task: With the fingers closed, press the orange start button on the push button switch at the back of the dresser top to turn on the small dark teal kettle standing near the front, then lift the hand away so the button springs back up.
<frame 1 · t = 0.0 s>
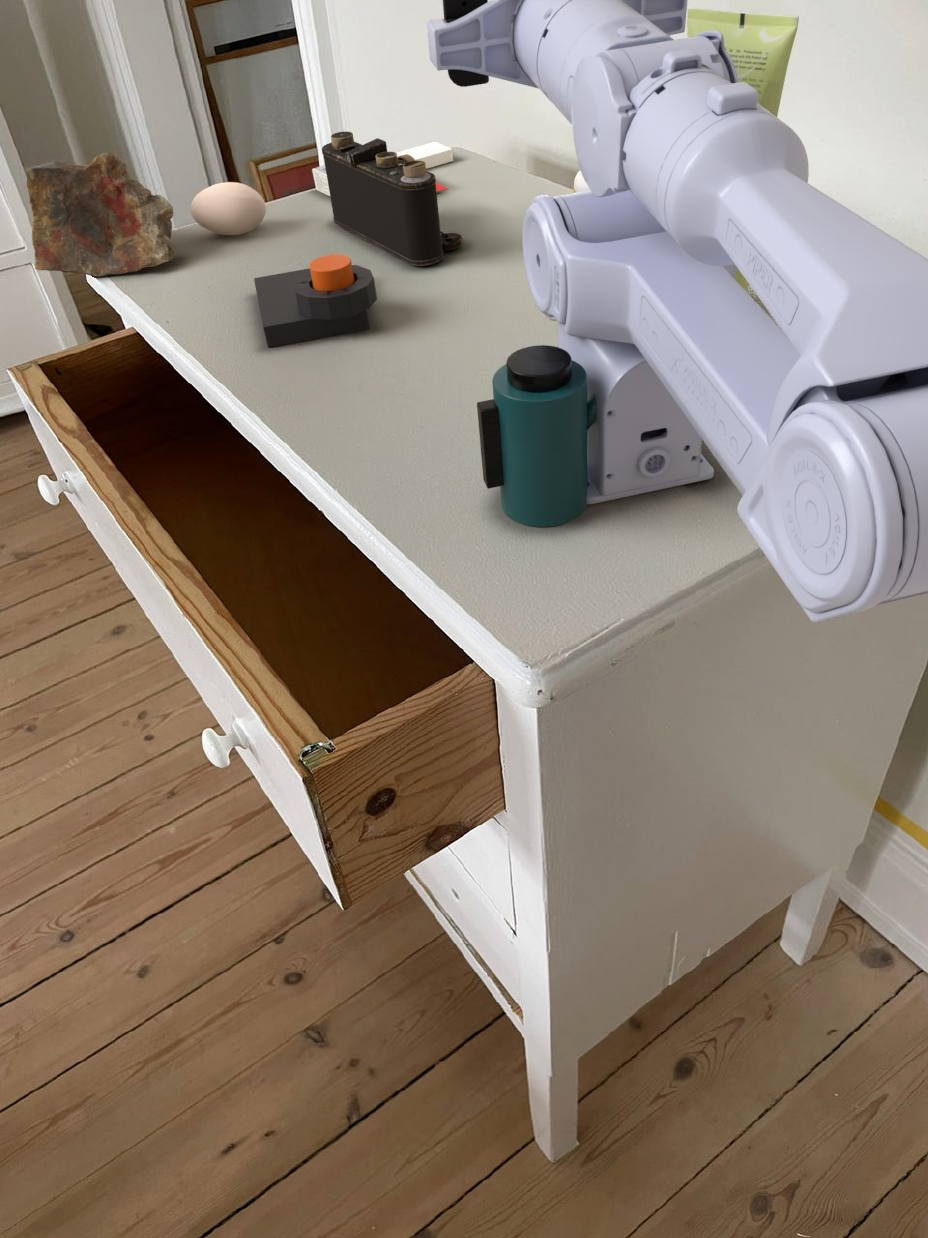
egg: (266, 206, 92), point 2 cm above the table
eraser: (432, 158, 108), on the table
switch button: (332, 273, 74), point 4 cm above the table, slide at 0.1 cm
camera: (397, 237, 90), on the table
tube: (713, 314, 73), on the table
ink cartridge box: (336, 192, 97), point 1 cm above the table
pill bottle: (613, 286, 78), on the table
push button switch: (311, 312, 79), on the table
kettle: (544, 501, 57), on the table
rock: (144, 248, 94), on the table
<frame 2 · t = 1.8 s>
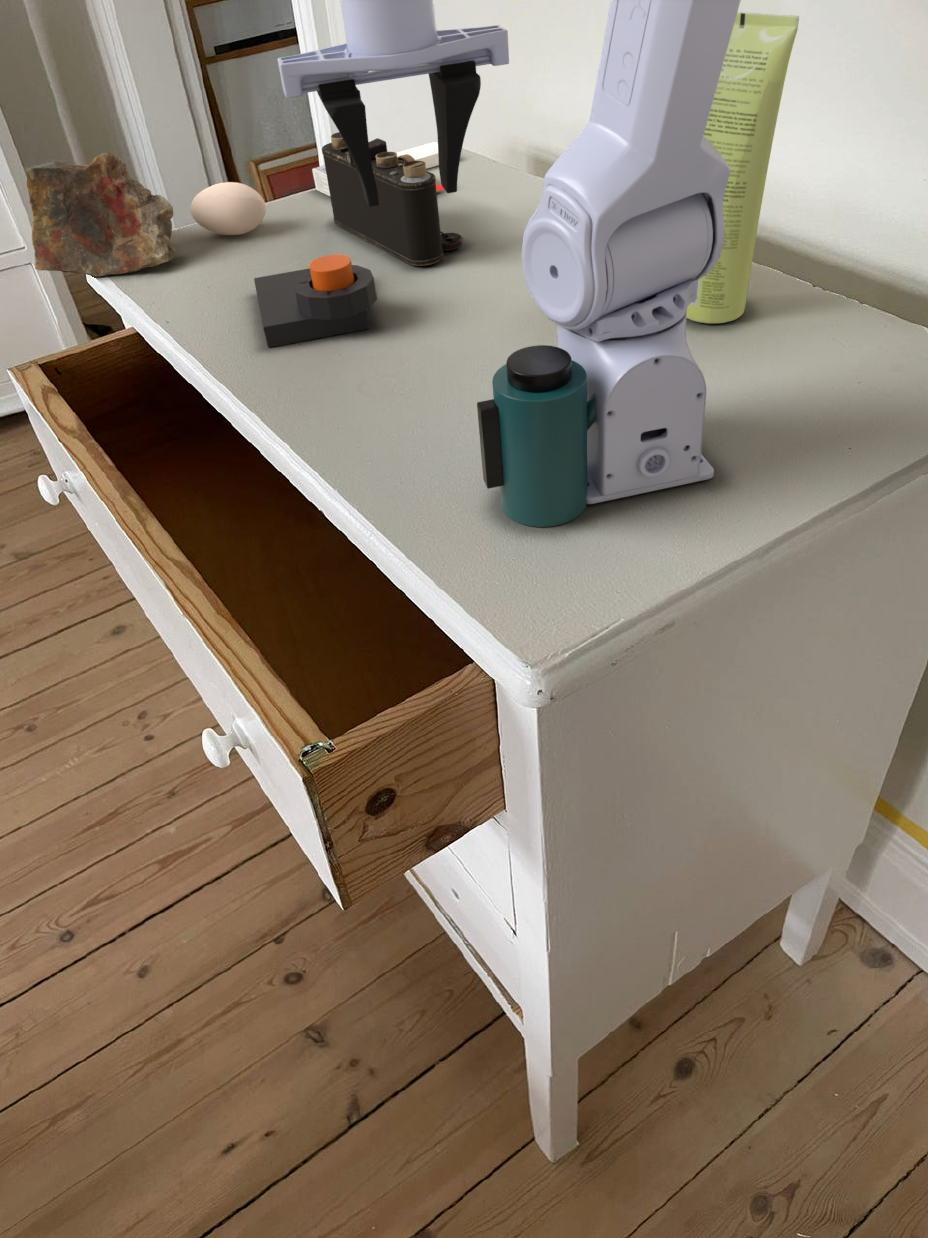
hand: (410, 194, 67), 10 cm above the table, tool pointing down, fingers open, 5 cm apart
nothing on the table moved.
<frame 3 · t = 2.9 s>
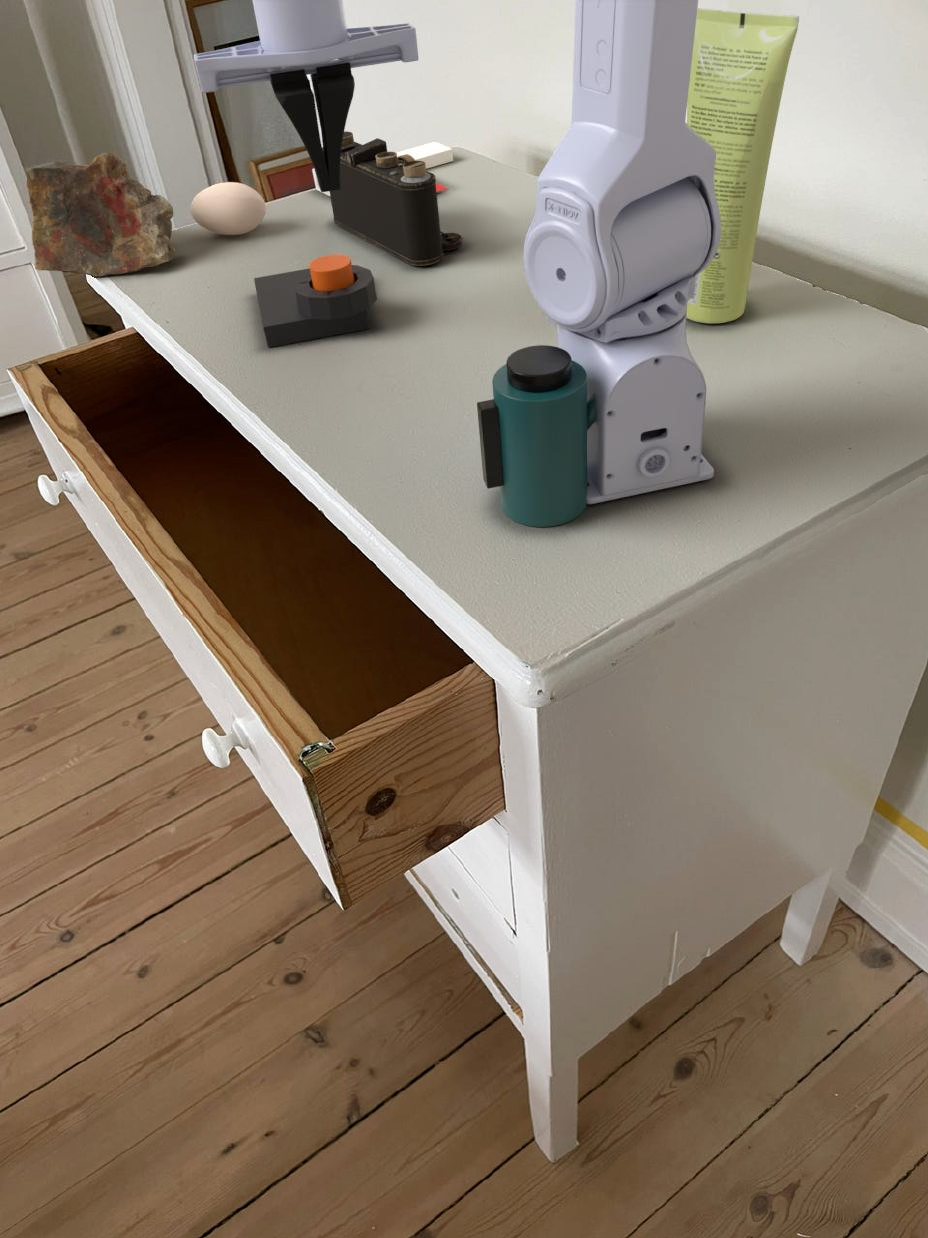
hand: (329, 186, 70), 10 cm above the table, tool pointing down, fingers closed
nothing on the table moved.
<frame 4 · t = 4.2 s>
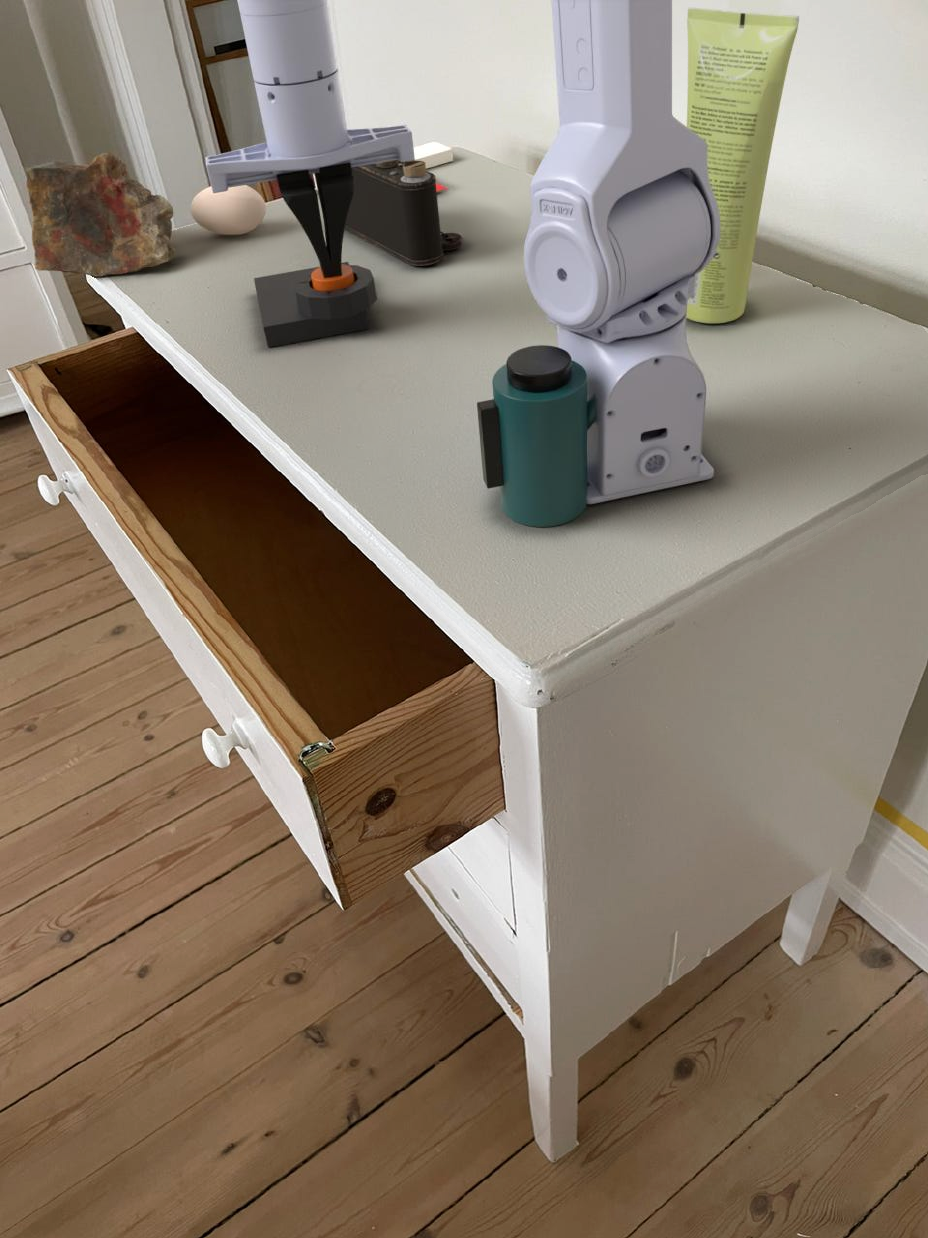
hand: (331, 272, 74), 4 cm above the table, tool pointing down, fingers closed, pressing on switch button
switch button: (333, 282, 75), point 3 cm above the table, slide at -0.6 cm, touching gripper
everything else where it was.
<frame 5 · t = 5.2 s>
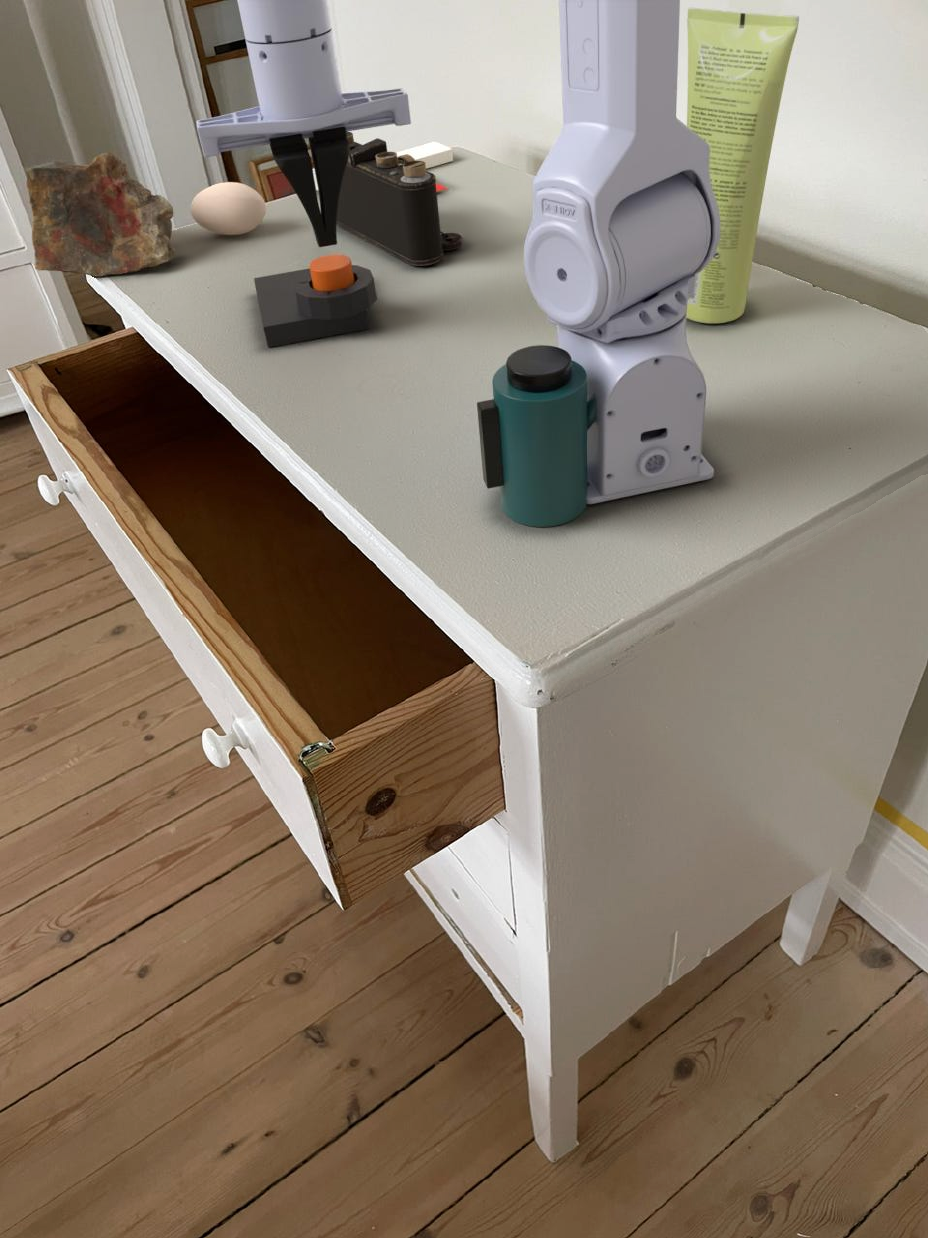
hand: (326, 241, 73), 6 cm above the table, tool pointing down, fingers closed
switch button: (332, 273, 74), point 4 cm above the table, slide at 0.1 cm
everything else where it was.
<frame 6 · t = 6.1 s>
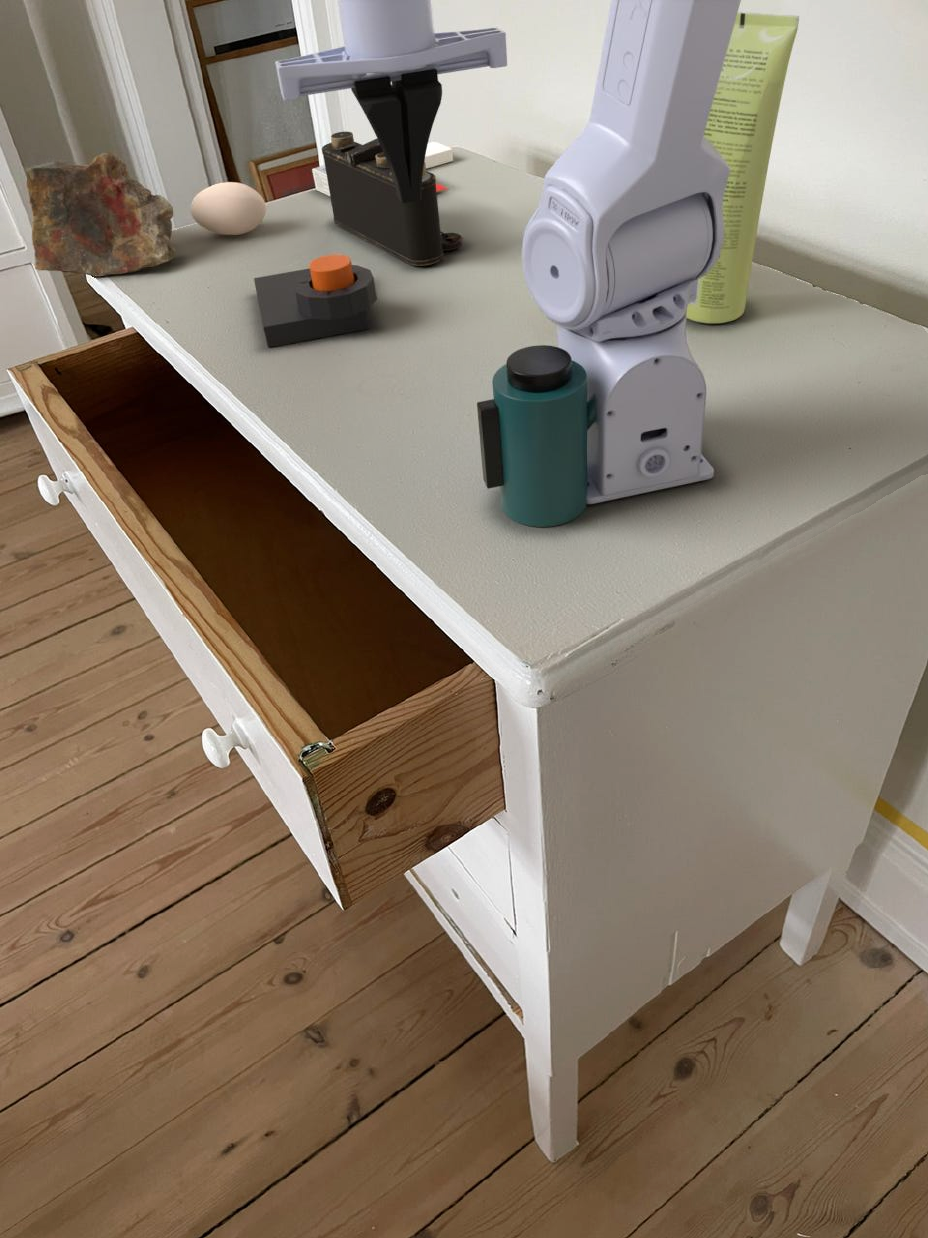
hand: (409, 197, 67), 10 cm above the table, tool pointing down, fingers closed
nothing on the table moved.
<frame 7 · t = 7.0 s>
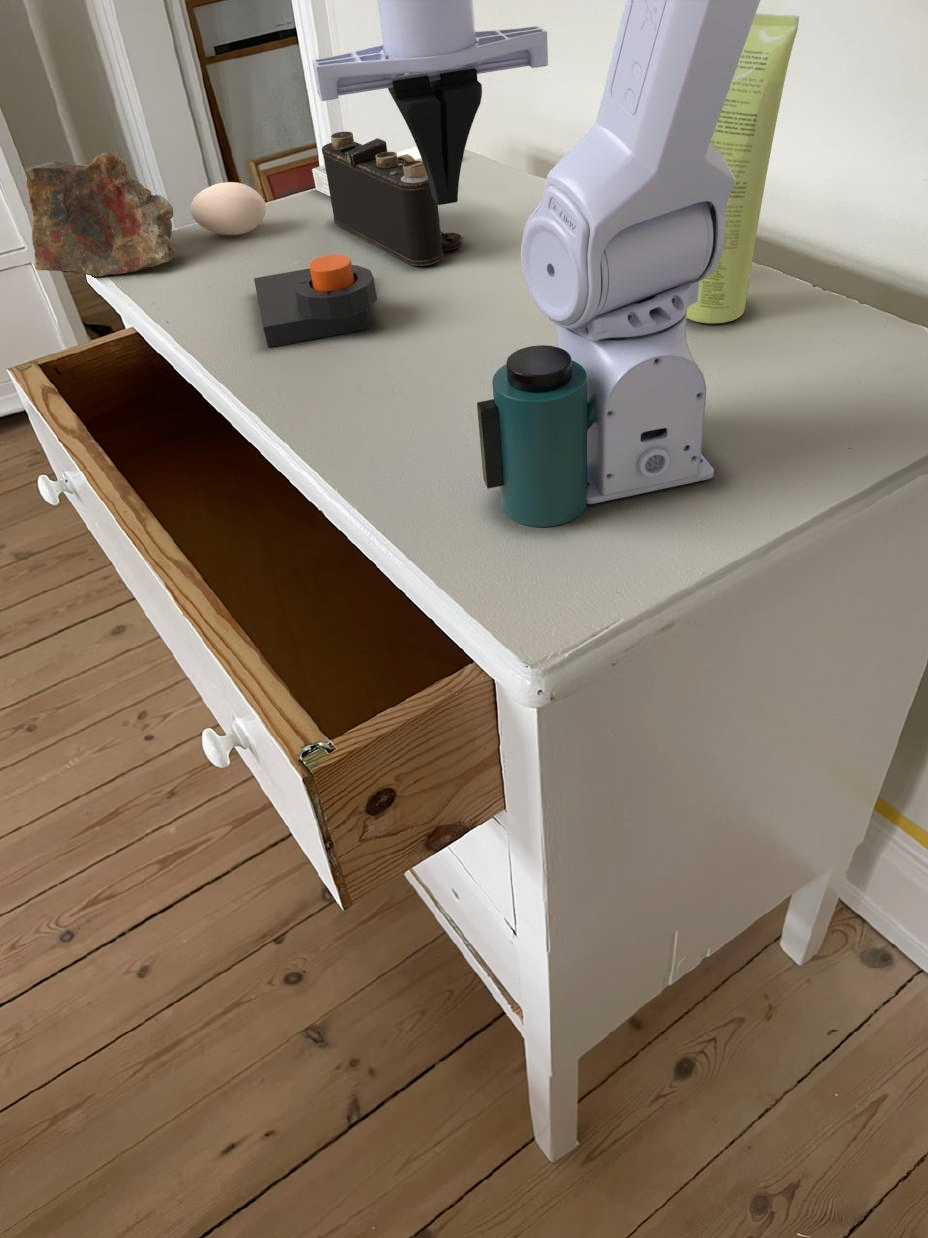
hand: (444, 199, 66), 10 cm above the table, tool pointing down, fingers closed
nothing on the table moved.
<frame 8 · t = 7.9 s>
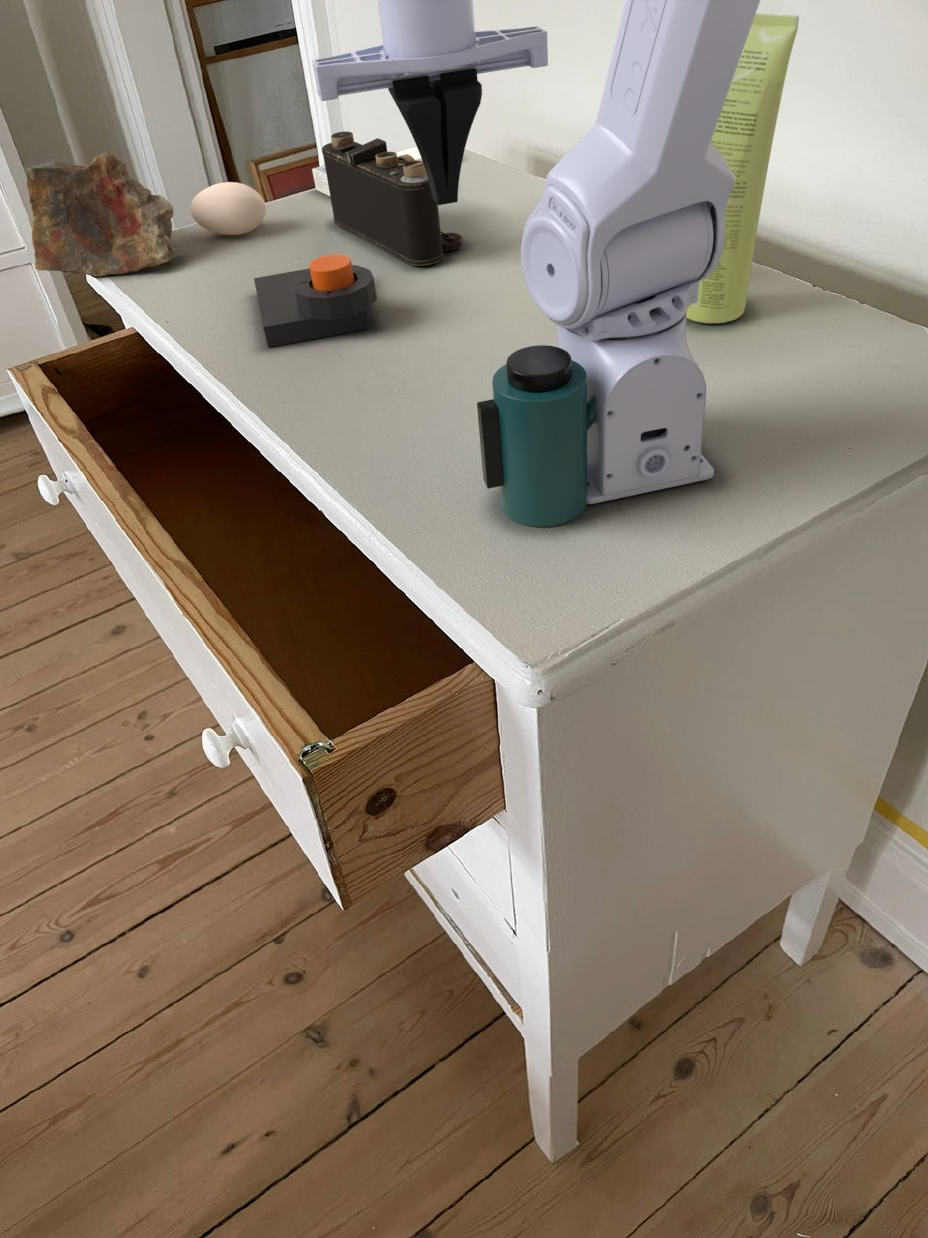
hand: (444, 199, 66), 10 cm above the table, tool pointing down, fingers closed
nothing on the table moved.
at the end: switch button pushed in 1.2 cm at the most during the clip, back to where it started at the end; switch button slide at 0.1 cm; switch button 33.5 cm from the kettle (horizontally) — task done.
